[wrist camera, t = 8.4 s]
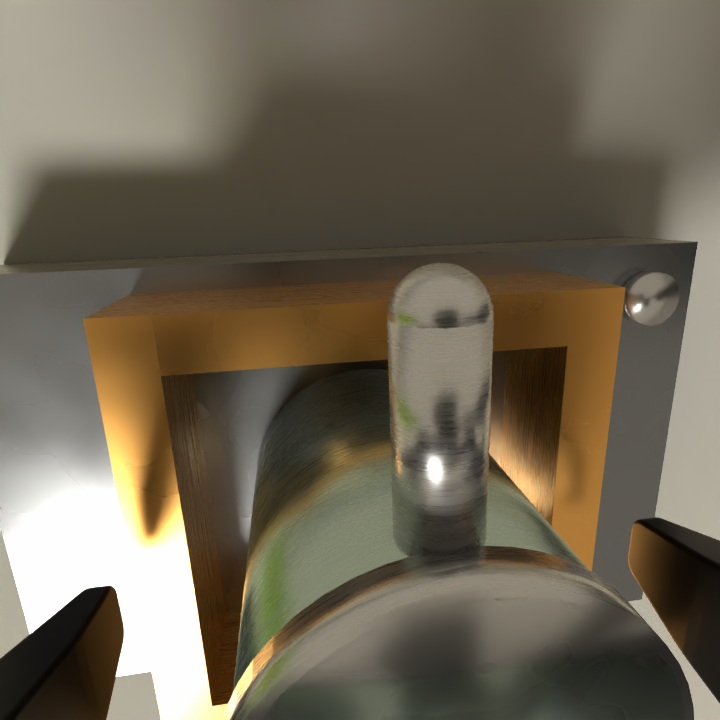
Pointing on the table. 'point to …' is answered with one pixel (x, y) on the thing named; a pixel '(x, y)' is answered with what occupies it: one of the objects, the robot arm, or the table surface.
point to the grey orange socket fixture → (274, 389)
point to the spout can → (425, 553)
